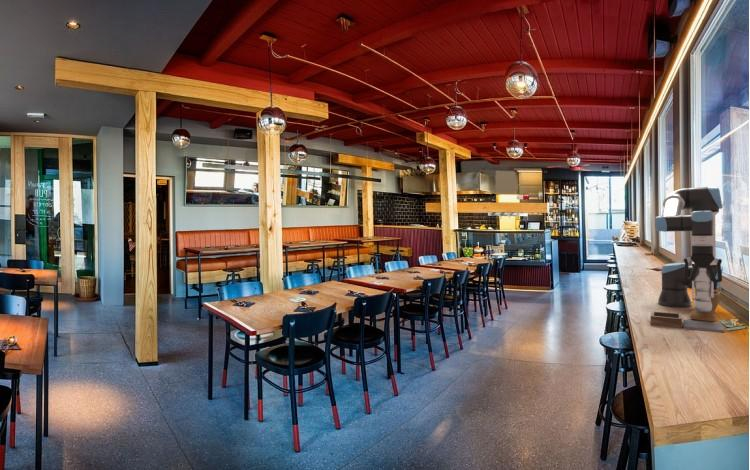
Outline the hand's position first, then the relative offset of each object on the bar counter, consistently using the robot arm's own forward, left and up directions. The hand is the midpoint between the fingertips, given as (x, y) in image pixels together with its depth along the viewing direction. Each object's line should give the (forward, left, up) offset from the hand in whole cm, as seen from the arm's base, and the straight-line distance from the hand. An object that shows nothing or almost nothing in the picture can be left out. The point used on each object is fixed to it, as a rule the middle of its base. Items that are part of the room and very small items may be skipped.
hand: (702, 296), depth 188 cm
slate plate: (0, 0, -14) cm, 14 cm away
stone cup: (-16, +2, -14) cm, 21 cm away
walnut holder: (0, -13, -14) cm, 19 cm away
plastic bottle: (0, 0, -7) cm, 7 cm away
